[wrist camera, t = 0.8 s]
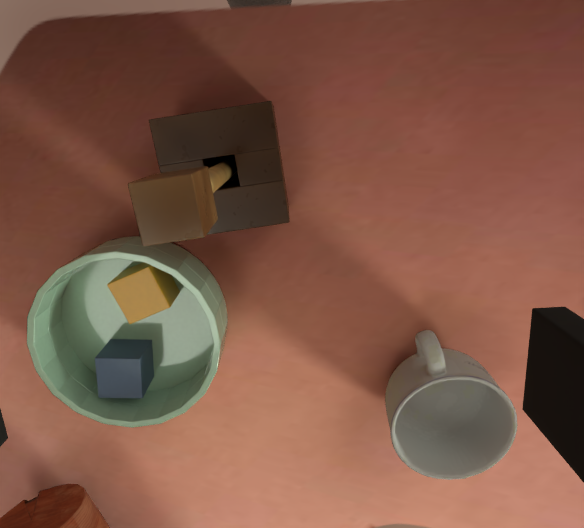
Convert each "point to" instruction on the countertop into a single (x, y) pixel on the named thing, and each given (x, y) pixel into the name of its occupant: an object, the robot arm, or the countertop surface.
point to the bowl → (127, 332)
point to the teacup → (447, 413)
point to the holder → (248, 154)
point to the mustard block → (143, 291)
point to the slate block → (124, 368)
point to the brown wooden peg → (178, 202)
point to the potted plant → (56, 510)
